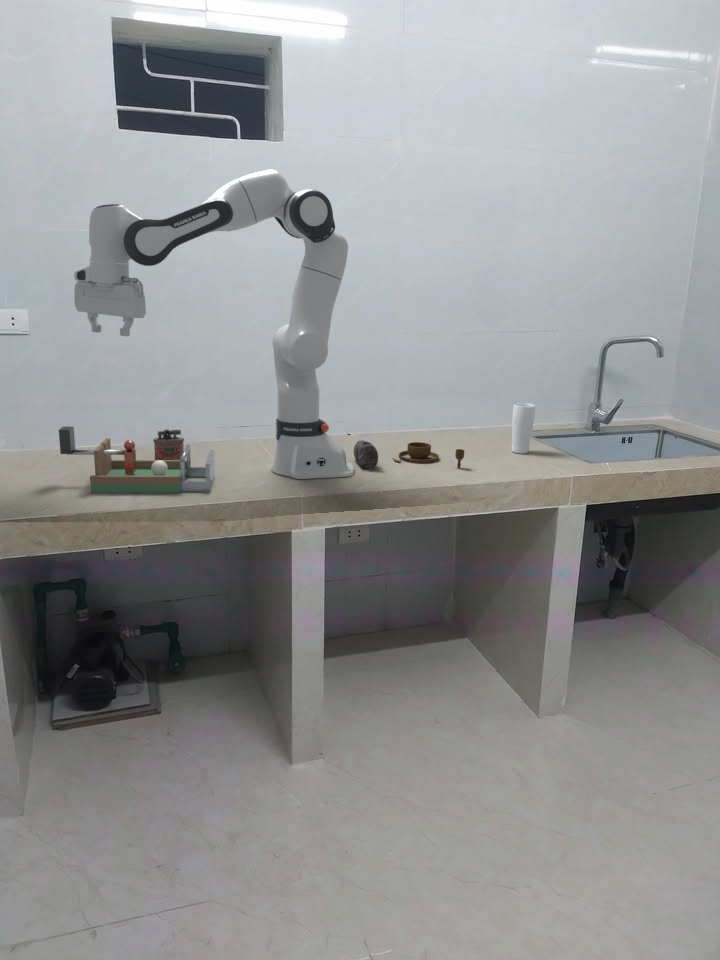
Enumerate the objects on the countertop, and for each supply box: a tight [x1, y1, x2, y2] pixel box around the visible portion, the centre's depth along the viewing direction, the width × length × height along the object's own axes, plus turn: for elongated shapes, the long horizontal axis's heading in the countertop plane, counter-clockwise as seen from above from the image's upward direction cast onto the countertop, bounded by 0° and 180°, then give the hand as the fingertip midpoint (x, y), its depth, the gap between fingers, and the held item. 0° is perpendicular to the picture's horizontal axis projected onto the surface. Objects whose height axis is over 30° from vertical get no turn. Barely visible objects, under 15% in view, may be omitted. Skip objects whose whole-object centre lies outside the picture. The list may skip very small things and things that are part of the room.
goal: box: [180, 443, 216, 493], centre depth 187 cm, size 7×14×8 cm, turn 6°
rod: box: [58, 425, 137, 474], centre depth 183 cm, size 17×4×11 cm, turn 96°
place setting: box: [391, 441, 465, 470], centre depth 217 cm, size 18×20×6 cm
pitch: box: [89, 437, 188, 494], centre depth 185 cm, size 21×16×10 cm
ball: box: [151, 460, 168, 476], centre depth 186 cm, size 4×4×4 cm
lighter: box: [153, 428, 185, 460], centre depth 203 cm, size 8×3×10 cm, turn 105°
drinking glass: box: [511, 402, 536, 455], centre depth 231 cm, size 7×7×15 cm
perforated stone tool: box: [353, 440, 379, 469], centre depth 212 cm, size 15×5×7 cm, turn 13°
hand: (110, 334), depth 182 cm, fingers open, 8 cm apart
